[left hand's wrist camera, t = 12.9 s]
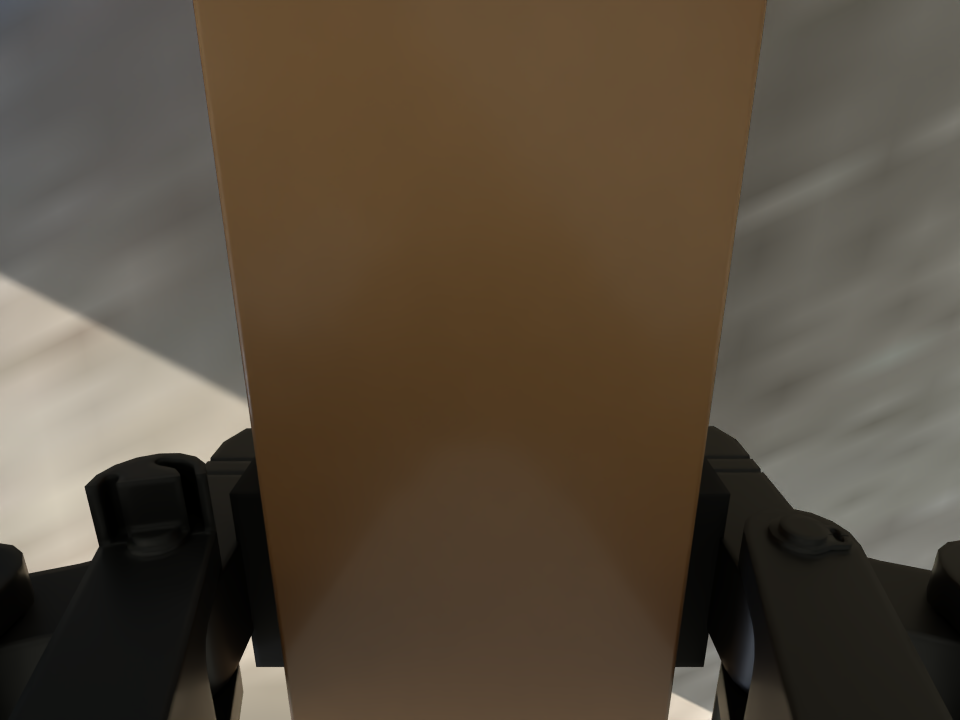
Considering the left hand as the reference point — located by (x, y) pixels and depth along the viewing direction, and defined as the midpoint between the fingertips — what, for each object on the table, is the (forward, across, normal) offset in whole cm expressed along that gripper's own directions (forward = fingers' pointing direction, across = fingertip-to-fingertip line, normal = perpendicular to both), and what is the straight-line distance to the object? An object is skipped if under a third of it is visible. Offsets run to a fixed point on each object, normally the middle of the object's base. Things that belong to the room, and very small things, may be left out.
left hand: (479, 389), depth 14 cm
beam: (+1, 0, -28) cm, 28 cm away
